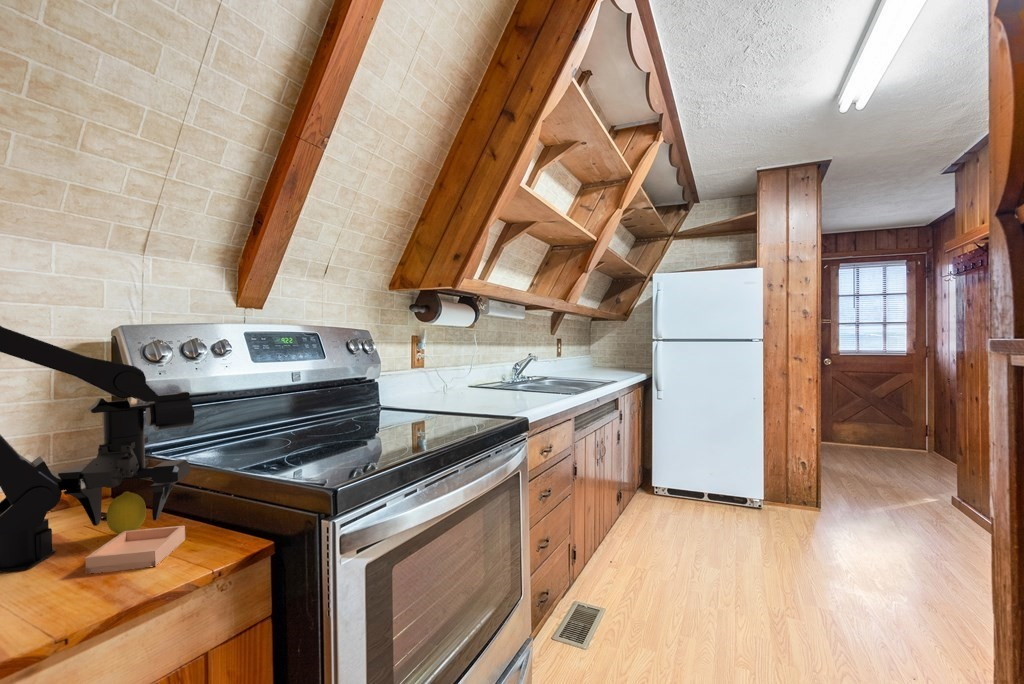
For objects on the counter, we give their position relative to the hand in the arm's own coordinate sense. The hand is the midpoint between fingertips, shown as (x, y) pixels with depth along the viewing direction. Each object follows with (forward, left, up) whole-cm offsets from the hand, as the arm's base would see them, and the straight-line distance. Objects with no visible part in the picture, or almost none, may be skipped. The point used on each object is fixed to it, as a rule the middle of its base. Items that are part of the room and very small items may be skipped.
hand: (126, 522), depth 87 cm
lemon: (0, 0, -3) cm, 3 cm away
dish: (+7, -10, -2) cm, 12 cm away
